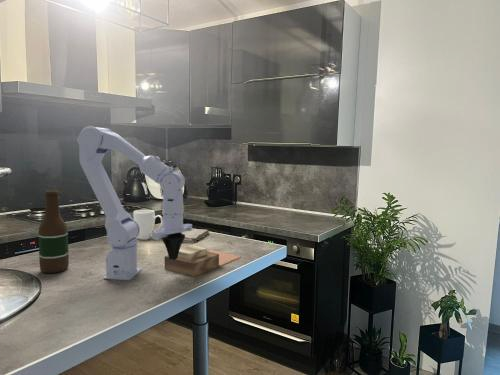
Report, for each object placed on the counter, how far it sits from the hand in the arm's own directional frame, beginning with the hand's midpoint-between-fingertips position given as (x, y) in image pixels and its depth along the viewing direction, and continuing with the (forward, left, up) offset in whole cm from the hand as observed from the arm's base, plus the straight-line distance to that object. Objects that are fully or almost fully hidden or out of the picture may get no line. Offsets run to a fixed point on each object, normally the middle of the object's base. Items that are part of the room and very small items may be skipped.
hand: (173, 258), depth 107 cm
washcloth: (+45, +7, -6) cm, 46 cm away
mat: (+18, -9, -5) cm, 21 cm away
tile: (+7, -4, -1) cm, 8 cm away
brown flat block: (+7, -4, -5) cm, 10 cm away
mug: (+40, +22, -5) cm, 46 cm away
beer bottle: (0, +37, -5) cm, 37 cm away
